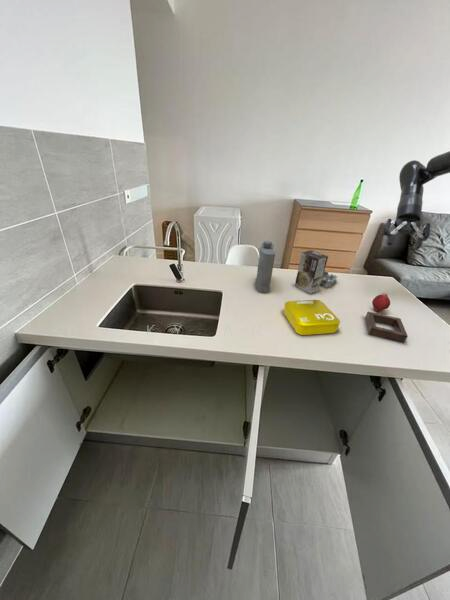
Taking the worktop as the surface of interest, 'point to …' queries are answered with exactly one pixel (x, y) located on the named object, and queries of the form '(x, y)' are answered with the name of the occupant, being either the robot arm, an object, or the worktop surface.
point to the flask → (265, 267)
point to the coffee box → (311, 271)
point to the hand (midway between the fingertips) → (403, 247)
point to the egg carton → (328, 279)
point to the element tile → (311, 317)
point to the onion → (381, 302)
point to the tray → (376, 331)
